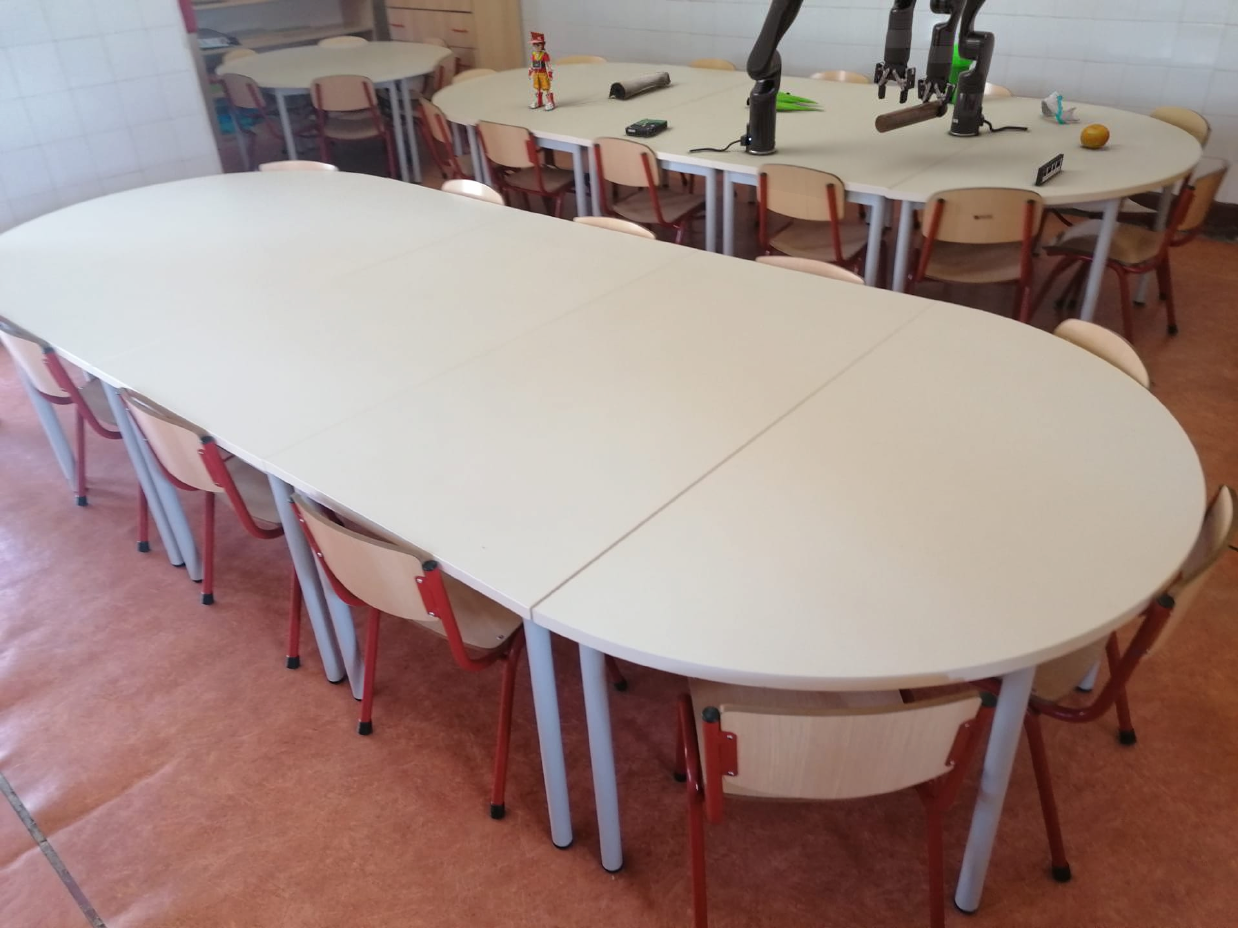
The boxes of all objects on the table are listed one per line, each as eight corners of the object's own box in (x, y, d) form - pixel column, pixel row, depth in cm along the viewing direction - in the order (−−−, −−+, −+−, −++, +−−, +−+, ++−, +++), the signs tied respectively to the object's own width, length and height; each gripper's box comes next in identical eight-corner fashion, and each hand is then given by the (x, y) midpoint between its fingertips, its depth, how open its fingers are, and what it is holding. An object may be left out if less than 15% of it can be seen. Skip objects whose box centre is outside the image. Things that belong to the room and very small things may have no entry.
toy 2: (737, 109, 358) (807, 121, 345) (739, 95, 355) (810, 107, 342) (766, 99, 378) (833, 110, 366) (767, 86, 375) (835, 96, 363)
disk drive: (648, 138, 335) (668, 127, 345) (648, 130, 333) (667, 120, 343) (625, 135, 340) (644, 125, 350) (624, 127, 338) (644, 117, 348)
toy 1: (525, 109, 381) (517, 32, 364) (534, 104, 388) (527, 28, 371) (550, 110, 377) (543, 32, 360) (559, 105, 384) (553, 28, 367)
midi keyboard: (1039, 185, 269) (1043, 168, 266) (1035, 184, 270) (1038, 168, 267) (1060, 170, 279) (1064, 154, 277) (1056, 169, 280) (1060, 153, 277)
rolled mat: (651, 76, 408) (662, 61, 399) (662, 93, 408) (674, 79, 400) (605, 92, 391) (616, 77, 383) (617, 110, 391) (628, 95, 383)
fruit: (1076, 138, 294) (1094, 116, 291) (1073, 141, 302) (1090, 120, 299) (1098, 153, 293) (1116, 131, 290) (1095, 155, 300) (1112, 134, 297)
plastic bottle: (973, 101, 354) (984, 32, 339) (955, 106, 349) (966, 36, 335) (952, 97, 361) (962, 29, 346) (934, 102, 356) (944, 33, 342)
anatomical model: (1035, 91, 328) (1062, 83, 328) (1034, 119, 334) (1061, 112, 334) (1054, 100, 316) (1083, 93, 315) (1053, 130, 322) (1081, 122, 321)
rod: (933, 114, 296) (935, 97, 293) (946, 117, 293) (949, 100, 290) (874, 131, 285) (875, 113, 282) (886, 134, 281) (888, 116, 278)
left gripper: (871, 44, 273) (866, 99, 283) (907, 49, 263) (901, 107, 272) (888, 40, 277) (883, 95, 286) (925, 45, 267) (918, 102, 276)
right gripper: (914, 58, 286) (907, 113, 296) (950, 65, 276) (942, 121, 286) (930, 54, 289) (923, 109, 299) (966, 61, 279) (958, 117, 289)
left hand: (892, 101), depth 279 cm, fingers open, 8 cm apart
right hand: (932, 115), depth 292 cm, fingers closed on rod, 5 cm apart
